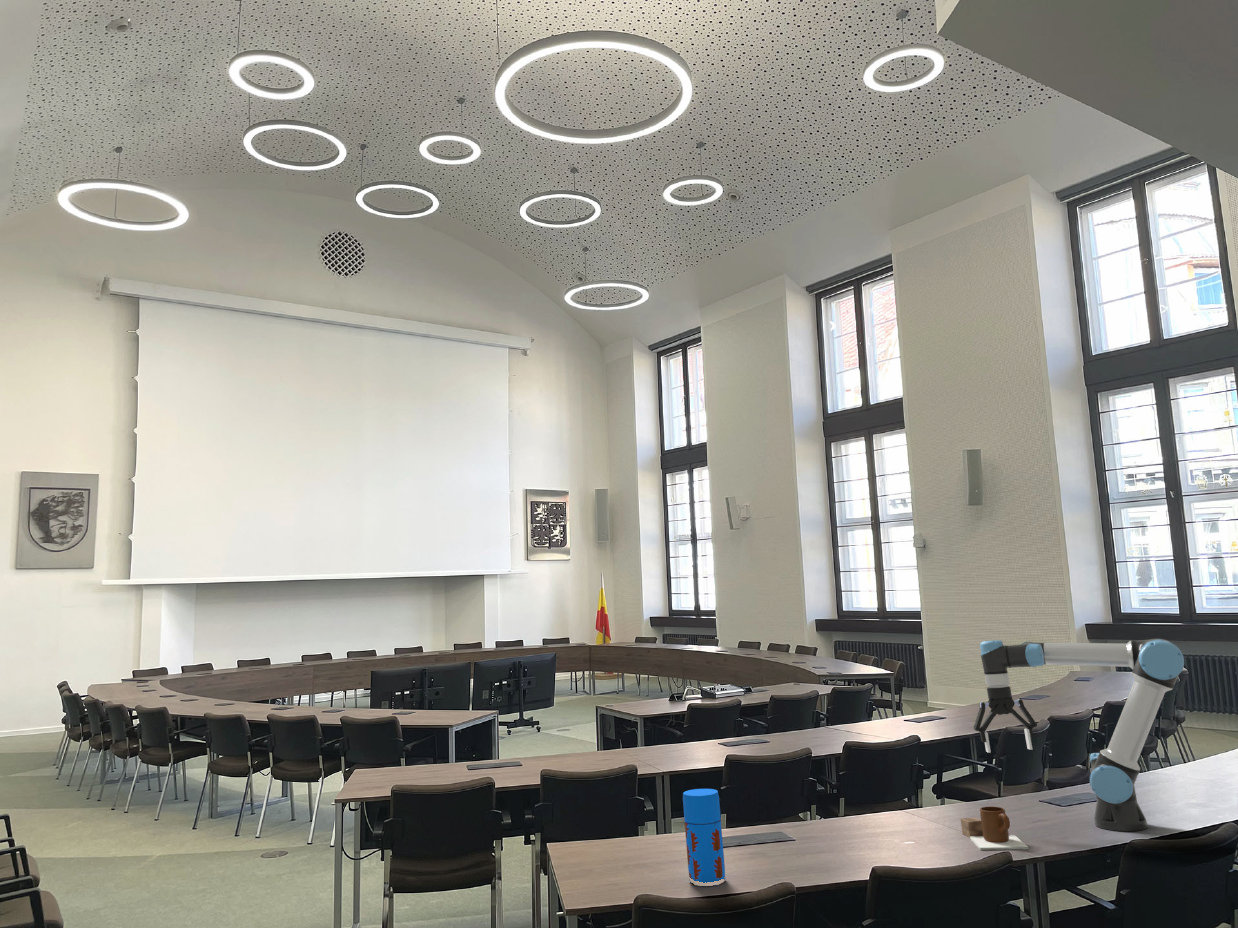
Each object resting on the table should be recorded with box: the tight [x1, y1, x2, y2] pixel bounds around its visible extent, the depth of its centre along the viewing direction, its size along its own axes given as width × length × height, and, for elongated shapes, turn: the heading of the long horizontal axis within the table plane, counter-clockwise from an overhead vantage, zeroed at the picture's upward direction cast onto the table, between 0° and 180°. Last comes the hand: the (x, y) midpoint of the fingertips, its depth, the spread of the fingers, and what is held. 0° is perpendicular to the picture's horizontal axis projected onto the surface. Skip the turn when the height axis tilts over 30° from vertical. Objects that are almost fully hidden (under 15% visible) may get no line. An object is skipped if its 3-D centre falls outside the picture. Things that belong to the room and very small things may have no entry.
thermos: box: [682, 788, 726, 883], centre depth 250 cm, size 11×11×25 cm
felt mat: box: [969, 834, 1029, 851], centre depth 266 cm, size 14×14×1 cm
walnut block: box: [960, 817, 983, 839], centre depth 277 cm, size 5×5×5 cm
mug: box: [979, 806, 1011, 843], centre depth 267 cm, size 12×8×9 cm, turn 8°
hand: (1009, 750), depth 284 cm, fingers open, 13 cm apart
